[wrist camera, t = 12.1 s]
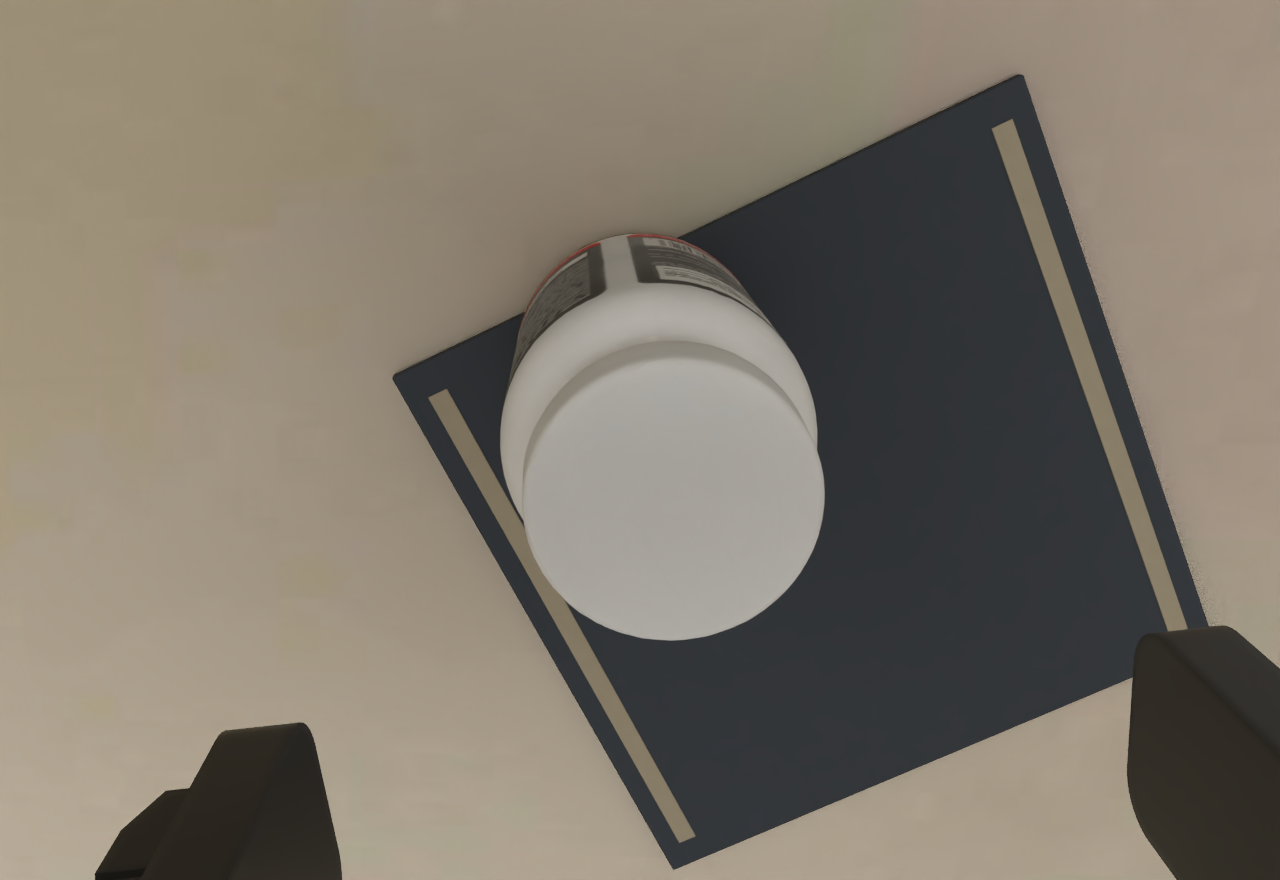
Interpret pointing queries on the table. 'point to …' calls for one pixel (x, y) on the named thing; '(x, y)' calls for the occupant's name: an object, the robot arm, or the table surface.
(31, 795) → the table surface
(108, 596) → the table surface
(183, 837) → the robot arm
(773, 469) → the pill bottle
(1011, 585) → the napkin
